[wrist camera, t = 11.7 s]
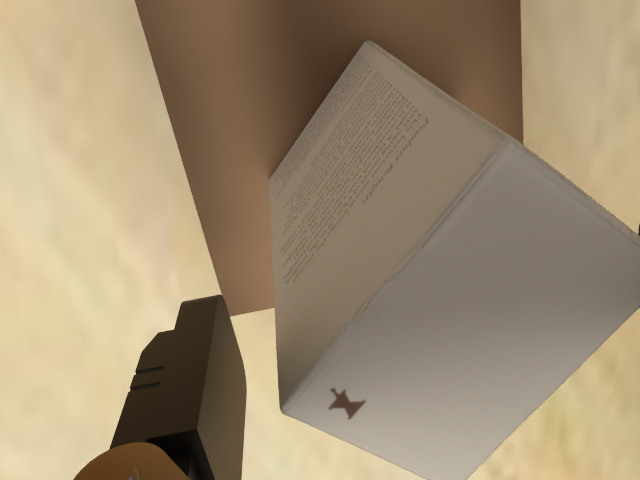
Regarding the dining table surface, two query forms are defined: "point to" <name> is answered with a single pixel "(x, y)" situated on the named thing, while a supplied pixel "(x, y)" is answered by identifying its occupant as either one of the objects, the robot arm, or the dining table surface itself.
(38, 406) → the dining table surface
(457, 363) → the skincare box
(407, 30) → the walnut base
